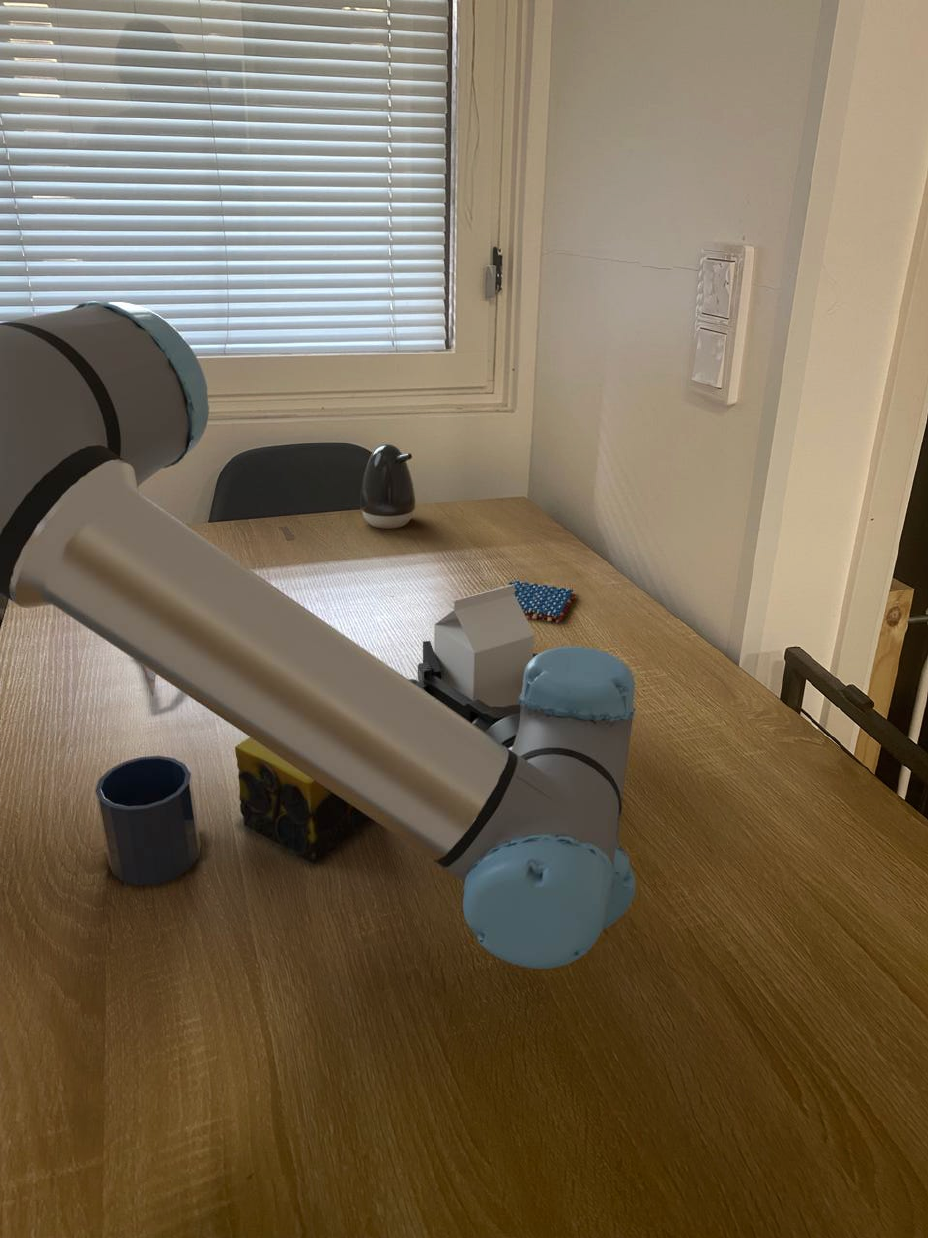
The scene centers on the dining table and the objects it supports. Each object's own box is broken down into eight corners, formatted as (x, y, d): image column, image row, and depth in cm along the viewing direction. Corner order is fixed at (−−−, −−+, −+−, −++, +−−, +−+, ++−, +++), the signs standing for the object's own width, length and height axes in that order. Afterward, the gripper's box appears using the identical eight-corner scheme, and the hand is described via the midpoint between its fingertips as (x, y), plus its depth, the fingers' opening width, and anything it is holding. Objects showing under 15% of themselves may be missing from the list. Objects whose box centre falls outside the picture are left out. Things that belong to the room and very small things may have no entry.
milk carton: (527, 763, 95) (537, 597, 87) (471, 785, 91) (475, 614, 83) (487, 731, 100) (493, 572, 92) (433, 751, 96) (433, 587, 88)
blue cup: (93, 881, 82) (76, 800, 78) (141, 826, 89) (128, 750, 85) (173, 897, 81) (160, 816, 77) (215, 840, 88) (206, 763, 84)
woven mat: (561, 628, 131) (562, 615, 130) (490, 616, 134) (491, 603, 133) (576, 599, 140) (577, 587, 139) (510, 589, 143) (511, 577, 142)
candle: (312, 779, 97) (307, 699, 92) (385, 815, 92) (383, 732, 87) (239, 829, 89) (230, 743, 85) (314, 871, 84) (308, 783, 80)
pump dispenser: (394, 539, 162) (393, 455, 155) (349, 527, 167) (346, 445, 160) (427, 523, 169) (427, 443, 163) (383, 512, 174) (381, 434, 168)
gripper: (399, 825, 75) (369, 689, 95) (648, 796, 79) (570, 672, 99) (398, 748, 72) (367, 624, 91) (658, 723, 76) (575, 609, 95)
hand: (473, 649), depth 95 cm, fingers closed on milk carton, 9 cm apart
